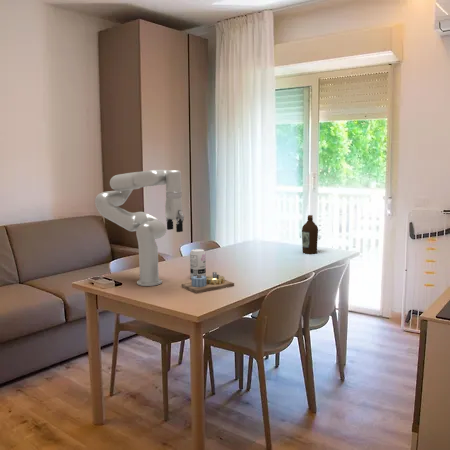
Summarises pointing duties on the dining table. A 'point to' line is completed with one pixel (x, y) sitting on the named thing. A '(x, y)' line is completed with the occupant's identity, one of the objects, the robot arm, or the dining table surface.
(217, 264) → the dining table surface
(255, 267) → the dining table surface
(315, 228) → the olive oil
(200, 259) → the supplement can
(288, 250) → the dining table surface
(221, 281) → the brass drive gear
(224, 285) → the gear board
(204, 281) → the blue gear
